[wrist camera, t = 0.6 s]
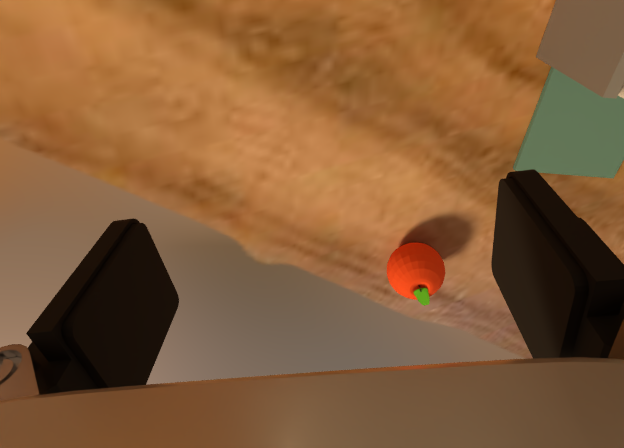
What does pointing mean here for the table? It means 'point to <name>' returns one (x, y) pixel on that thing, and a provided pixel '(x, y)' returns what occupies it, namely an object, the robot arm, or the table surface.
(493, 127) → the table surface
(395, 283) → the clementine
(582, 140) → the mat
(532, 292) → the robot arm
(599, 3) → the grey open box
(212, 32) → the table surface
